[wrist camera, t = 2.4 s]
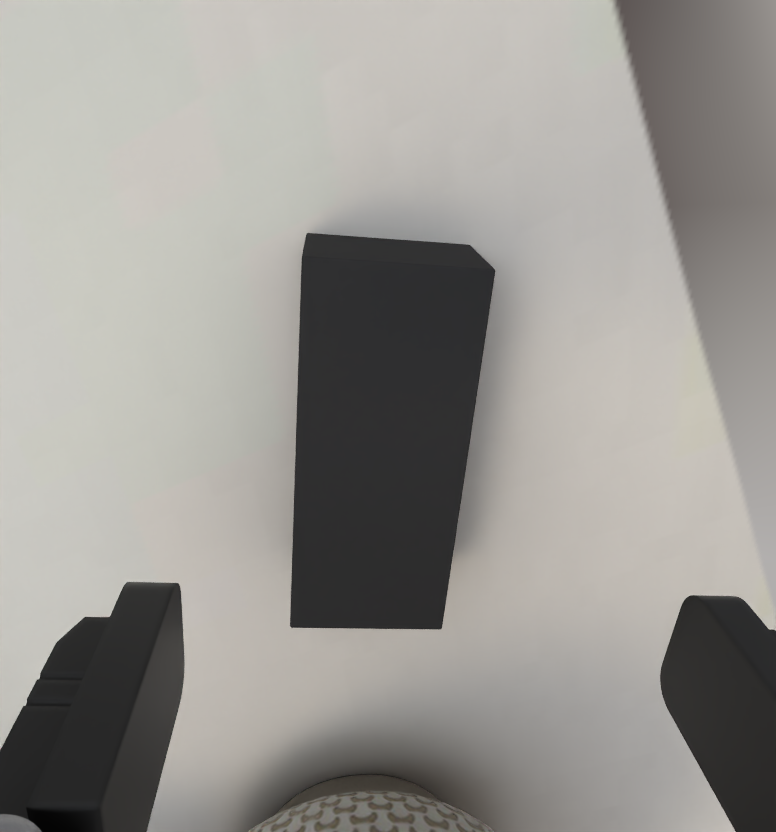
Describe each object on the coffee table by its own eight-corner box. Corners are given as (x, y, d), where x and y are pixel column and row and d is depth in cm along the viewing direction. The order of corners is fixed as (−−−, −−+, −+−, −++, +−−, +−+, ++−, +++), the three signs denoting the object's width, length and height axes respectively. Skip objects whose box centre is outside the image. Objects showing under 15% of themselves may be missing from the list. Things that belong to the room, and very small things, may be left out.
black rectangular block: (428, 565, 26) (441, 630, 22) (295, 562, 25) (290, 628, 22) (470, 244, 21) (495, 269, 17) (306, 232, 20) (302, 256, 17)
